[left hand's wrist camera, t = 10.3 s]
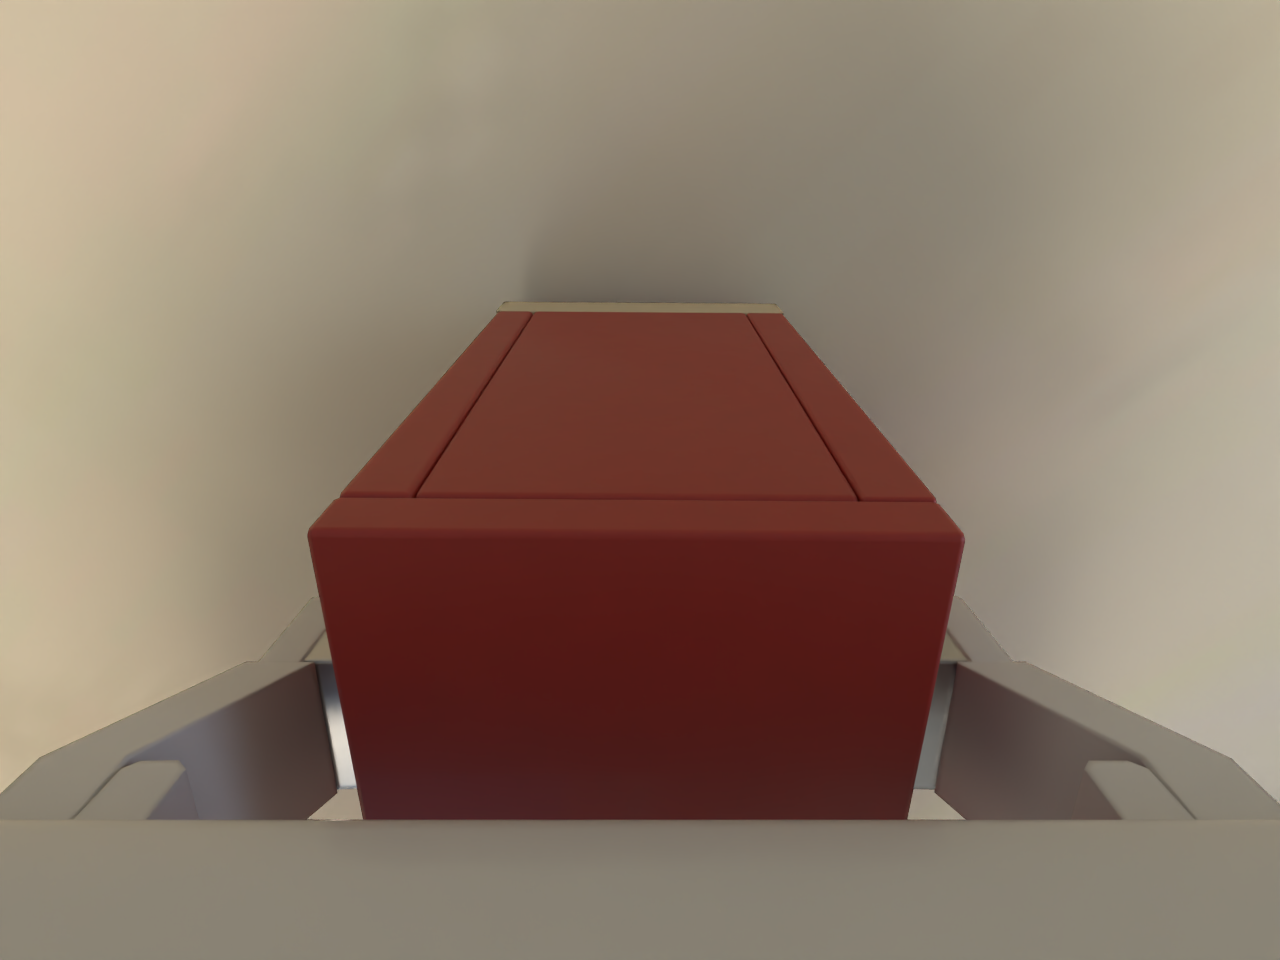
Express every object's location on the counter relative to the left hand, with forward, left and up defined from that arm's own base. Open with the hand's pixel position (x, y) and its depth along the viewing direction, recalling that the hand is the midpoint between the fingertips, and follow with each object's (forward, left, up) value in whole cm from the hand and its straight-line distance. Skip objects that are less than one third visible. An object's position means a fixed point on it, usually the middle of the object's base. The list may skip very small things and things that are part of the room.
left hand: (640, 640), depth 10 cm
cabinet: (+5, -3, -7) cm, 9 cm away
